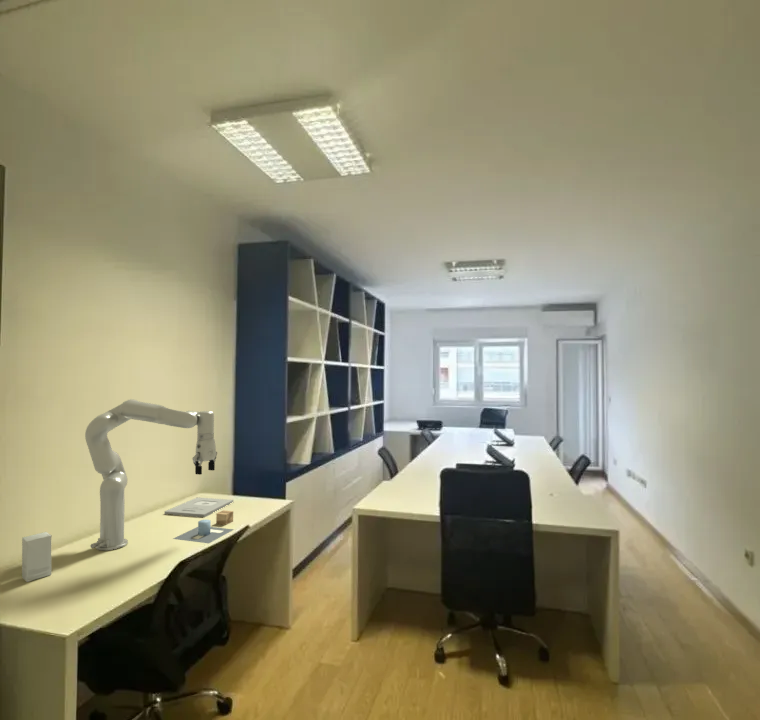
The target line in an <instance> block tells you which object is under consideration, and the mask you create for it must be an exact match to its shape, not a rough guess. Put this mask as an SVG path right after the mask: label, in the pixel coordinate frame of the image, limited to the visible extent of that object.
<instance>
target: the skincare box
mask: <svg viewBox="0 0 760 720" xmlns="http://www.w3.org/2000/svg"><path fill="white" fill-rule="evenodd" d="M21 541H22V543H21V546H22V547H21V577H22V579H23V580H24V581H25V582H26V583H30V582H31V581H35V580H38V579H42V578H45V577H49V576H51V575H52V534H50V533H49V532H47V531H44V532H40V533H36V534H32V535H28V536H24V537H23V536H22V538H21Z"/></svg>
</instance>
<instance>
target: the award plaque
mask: <svg viewBox="0 0 760 720" xmlns="http://www.w3.org/2000/svg"><path fill="white" fill-rule="evenodd" d="M232 502H233V503H234V499H223V498H213V497H209V498H208V497H195V498H192V499H190V500H187V501H186V502H182V503H181V504H178V505H177V506H176V505H175V506H174V507H172V508H170V509H167V510H164V515H166V514H173V515H172V516H178V515H182V516H181V517H190V516H193V517H194V518H202V517H204V518H206V517H208V516H211V515H212V514H214V513H216V512H218V511H220V510H222V509H224V508H226V507H227V506H226V505H228V504H230V503H232ZM233 503H232V504H233ZM230 505H231V504H230ZM225 506H226V507H225ZM228 506H229V505H228ZM223 507H224V508H223ZM221 508H222V509H221ZM219 509H220V510H219ZM217 510H218V511H217ZM215 511H216V512H215ZM213 512H214V513H213Z"/></svg>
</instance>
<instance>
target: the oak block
mask: <svg viewBox="0 0 760 720" xmlns="http://www.w3.org/2000/svg"><path fill="white" fill-rule="evenodd" d="M215 515H216V517H215V522H216V525H224V526H226V525H227V526H228V525H229V524H231V523H233V522H234V510H224V509H223V510H221V511H217V512H215Z"/></svg>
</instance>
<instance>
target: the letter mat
mask: <svg viewBox="0 0 760 720" xmlns="http://www.w3.org/2000/svg"><path fill="white" fill-rule="evenodd" d="M234 530H235V529H232V528H224V527H215V526H211V527H210V534H209V535H206V536H199V535H198V526H196V527H194V528H193V529H190V530H188V531H185V532H184V533H181V534H179V535H178V536H175V537H174V538H172V540H180V541H186V542H194V543H203V544H211V543H212V542H214V541H216V540H217V539H218V540H219V539H220V538H221V537H224V536H225V535H227V534H229V533H230V532H232V531H234Z"/></svg>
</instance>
